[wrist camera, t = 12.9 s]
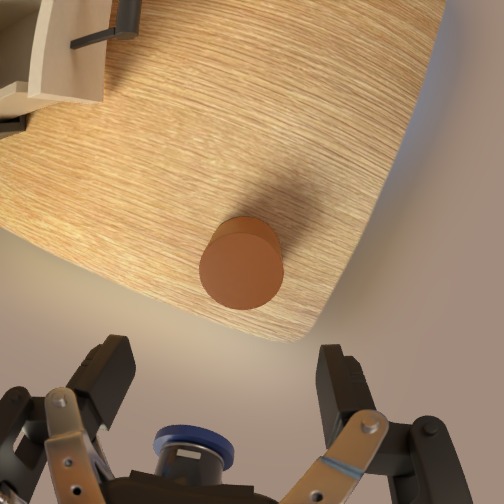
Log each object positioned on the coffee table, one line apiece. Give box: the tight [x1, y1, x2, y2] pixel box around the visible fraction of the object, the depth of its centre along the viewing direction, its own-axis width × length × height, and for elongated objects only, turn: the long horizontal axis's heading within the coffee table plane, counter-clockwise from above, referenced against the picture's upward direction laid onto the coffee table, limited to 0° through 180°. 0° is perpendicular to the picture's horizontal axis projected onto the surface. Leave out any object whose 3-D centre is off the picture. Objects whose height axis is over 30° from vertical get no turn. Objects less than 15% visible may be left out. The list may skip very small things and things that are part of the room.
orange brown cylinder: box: [199, 216, 284, 310], centre depth 22 cm, size 6×6×4 cm
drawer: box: [0, 0, 142, 123], centre depth 14 cm, size 20×13×8 cm
